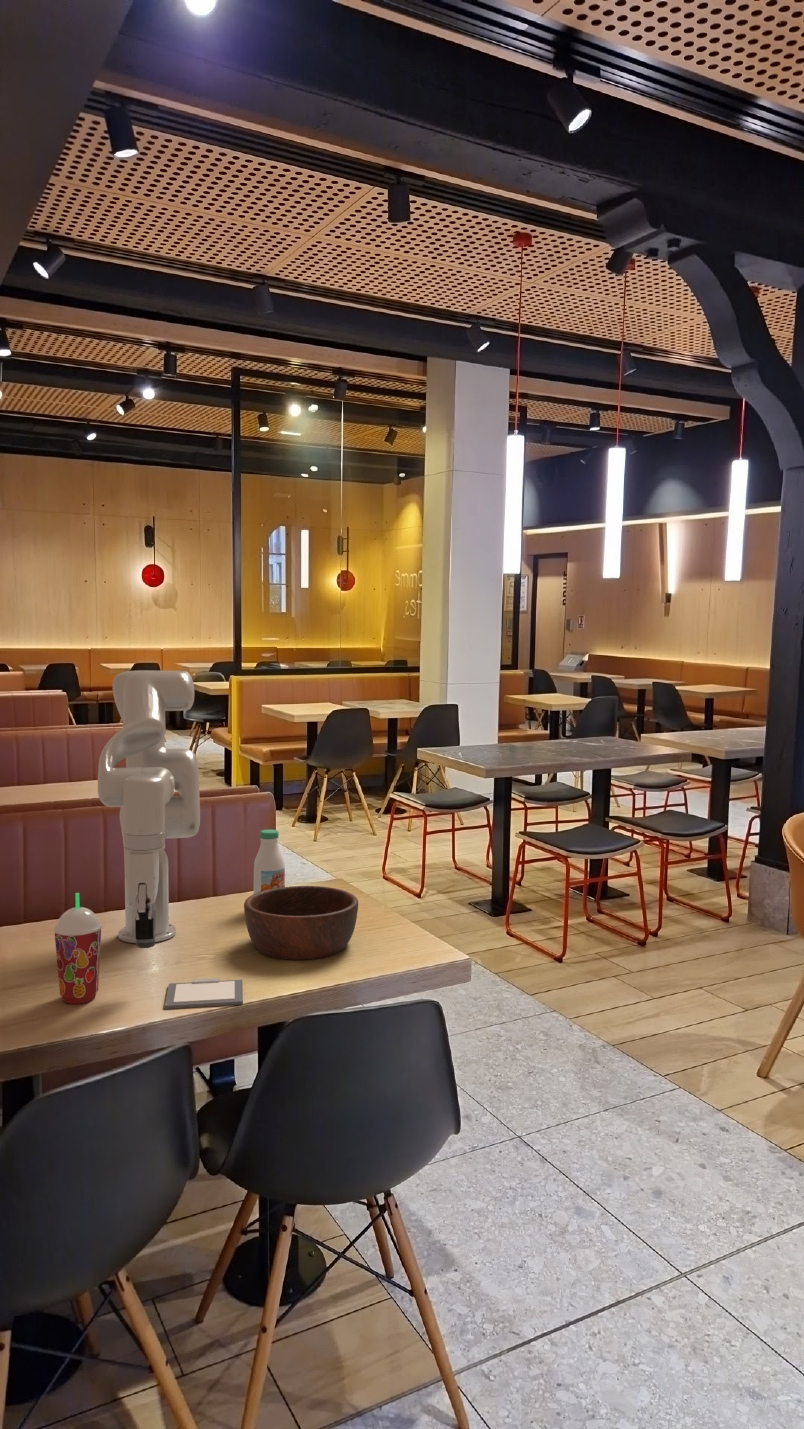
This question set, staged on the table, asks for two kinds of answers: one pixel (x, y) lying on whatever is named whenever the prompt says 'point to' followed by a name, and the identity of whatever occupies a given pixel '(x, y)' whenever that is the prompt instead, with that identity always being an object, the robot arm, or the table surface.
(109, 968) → the table surface
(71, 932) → the smoothie
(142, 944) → the orange topped gray cylinder
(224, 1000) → the clipboard
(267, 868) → the milk bottle
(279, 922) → the wooden bowl
